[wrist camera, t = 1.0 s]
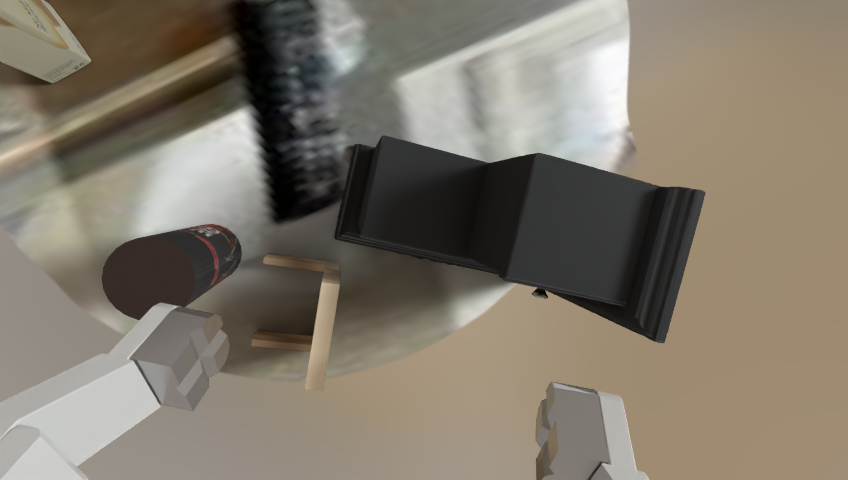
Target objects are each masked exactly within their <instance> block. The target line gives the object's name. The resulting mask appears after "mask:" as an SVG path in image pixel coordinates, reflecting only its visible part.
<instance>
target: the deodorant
mask: <svg viewBox="0 0 848 480" xmlns="http://www.w3.org/2000/svg"><path fill="white" fill-rule="evenodd" d="M241 255H242V252H241V246H240V243H239V241H238V239H237V238H236V236H235V235H234V234H233V233H232V232H231V231H229V230H228V229H227V228H224V227H222V226H220V225H214V224H208V225H201V226H196V227H191V228H186V229H181V230H176V231H171V232H166V233H161V234H156V235H151V236H147V237H142V238H137V239H134V240H131V241H128V242H126V243H124V244H122V245H121V246H119V247H118V248H116V249H115V250H114V252H113V253H112V254H111V255H110V256H109V257H108V259H107V261H106V263H105V265H104V268H103V275H102V282H103V289H104V291H105V293H106V296H107V298H108V300H109V301H110V302H111V303H112V304H113V305H114V307H115V308H116V309H118V310H119V311H121V312H122V313H123V314H125V315H127V316H129V317H132V318H135V319H137V320H140V319H141V318H142V317H143V316H144V315H145V314H146V313H147V312H148V311H149V310H150V309H151V308H152V307H153V306H155V305H157V304H159V303H165V304H170V305H175V306H180V307H186V306H187V305H188V304H190V303H191V302H193V301H194V300H195V299H197V298H198V297H200V296H201V295H202V294H204V293H205V292H207V291H208V290H209V289H211V288H212V287H214V286H215V285H216V284H218V283H219V282H221V281H222V280H223V279H225V278H226V277H228V276H229V275H230V274H232V273H233V272H234V271H235V270H236V268H237V267H238V265H239V263H240V261H241Z"/></svg>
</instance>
